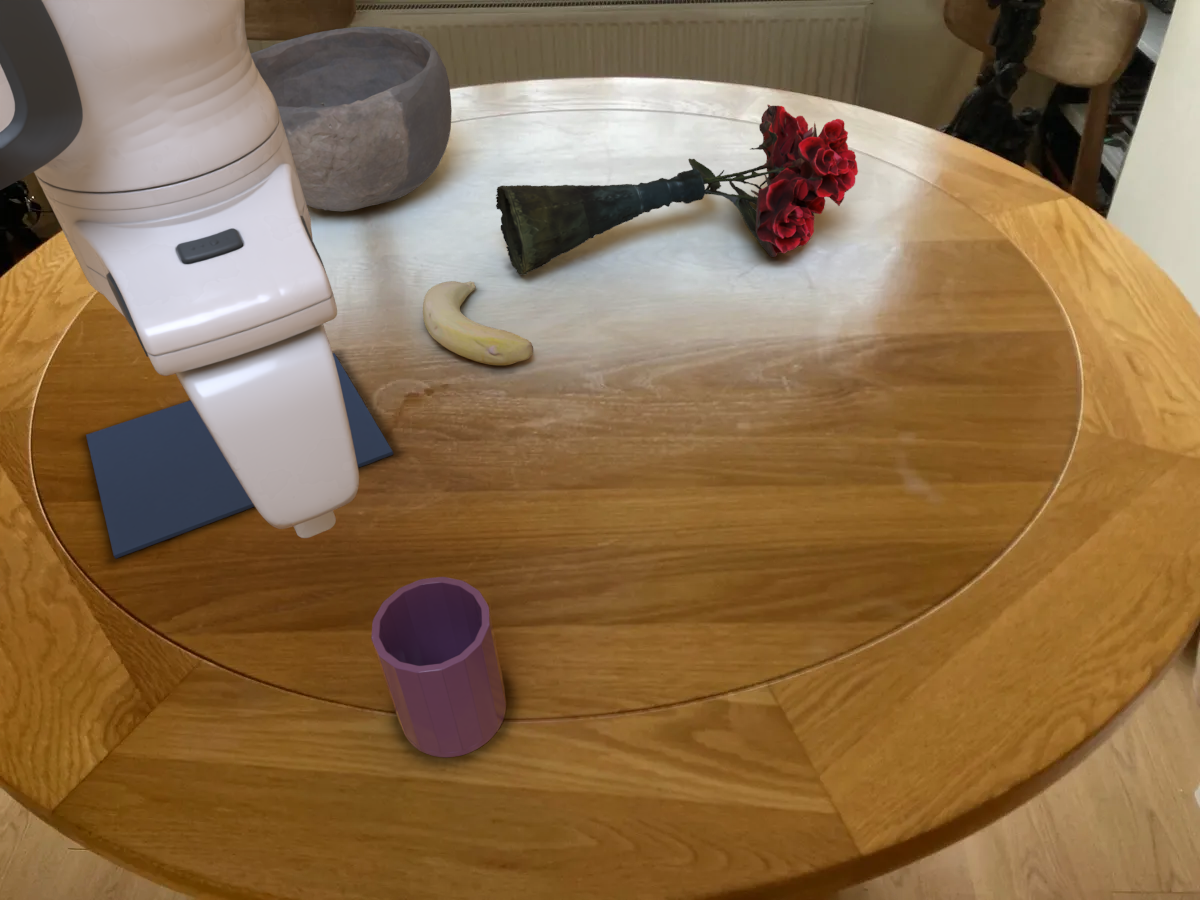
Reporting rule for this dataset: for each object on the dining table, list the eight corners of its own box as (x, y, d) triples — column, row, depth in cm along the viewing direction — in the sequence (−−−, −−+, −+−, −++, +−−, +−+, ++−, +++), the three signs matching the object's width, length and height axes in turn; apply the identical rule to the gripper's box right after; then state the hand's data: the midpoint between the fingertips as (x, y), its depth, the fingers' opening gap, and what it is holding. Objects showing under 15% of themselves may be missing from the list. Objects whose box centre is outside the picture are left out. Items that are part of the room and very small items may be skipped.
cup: (423, 776, 58) (395, 691, 51) (385, 693, 62) (356, 606, 56) (523, 726, 60) (508, 638, 54) (480, 650, 64) (462, 561, 58)
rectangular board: (115, 559, 72) (113, 555, 71) (87, 438, 82) (85, 434, 82) (393, 454, 79) (392, 451, 79) (335, 356, 90) (334, 352, 89)
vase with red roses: (528, 336, 104) (819, 254, 110) (552, 313, 86) (899, 215, 92) (486, 195, 103) (782, 120, 109) (500, 141, 85) (854, 55, 91)
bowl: (289, 264, 102) (249, 128, 92) (235, 176, 118) (195, 52, 108) (498, 202, 111) (481, 71, 100) (420, 128, 127) (400, 8, 116)
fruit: (464, 390, 85) (459, 360, 83) (406, 308, 95) (400, 279, 93) (537, 365, 87) (534, 335, 85) (473, 287, 97) (469, 259, 95)
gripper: (68, 133, 43) (178, 374, 53) (150, 368, 30) (278, 635, 39) (209, 98, 45) (290, 336, 55) (345, 302, 32) (422, 572, 41)
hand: (286, 463), depth 47 cm, fingers open, 8 cm apart
